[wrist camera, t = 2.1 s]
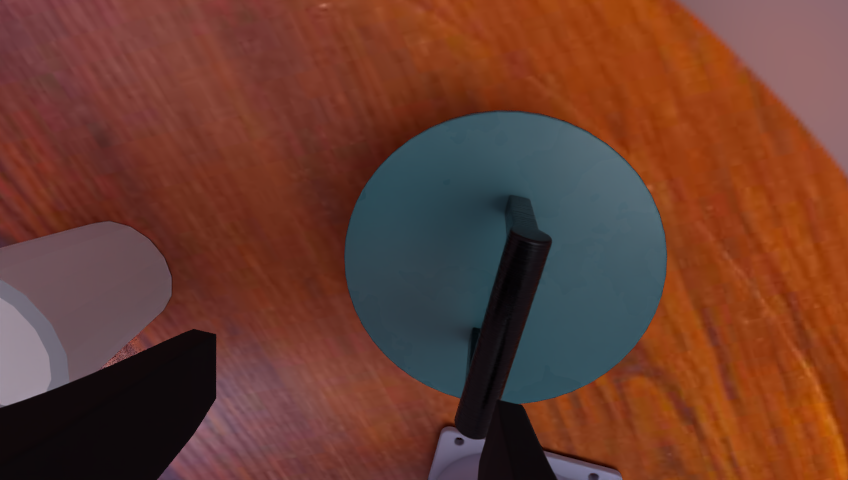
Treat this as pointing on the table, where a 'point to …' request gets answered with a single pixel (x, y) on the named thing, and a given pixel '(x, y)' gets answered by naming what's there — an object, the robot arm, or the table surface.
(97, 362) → the pale grey cylinder
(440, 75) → the table surface
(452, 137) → the tin lid
